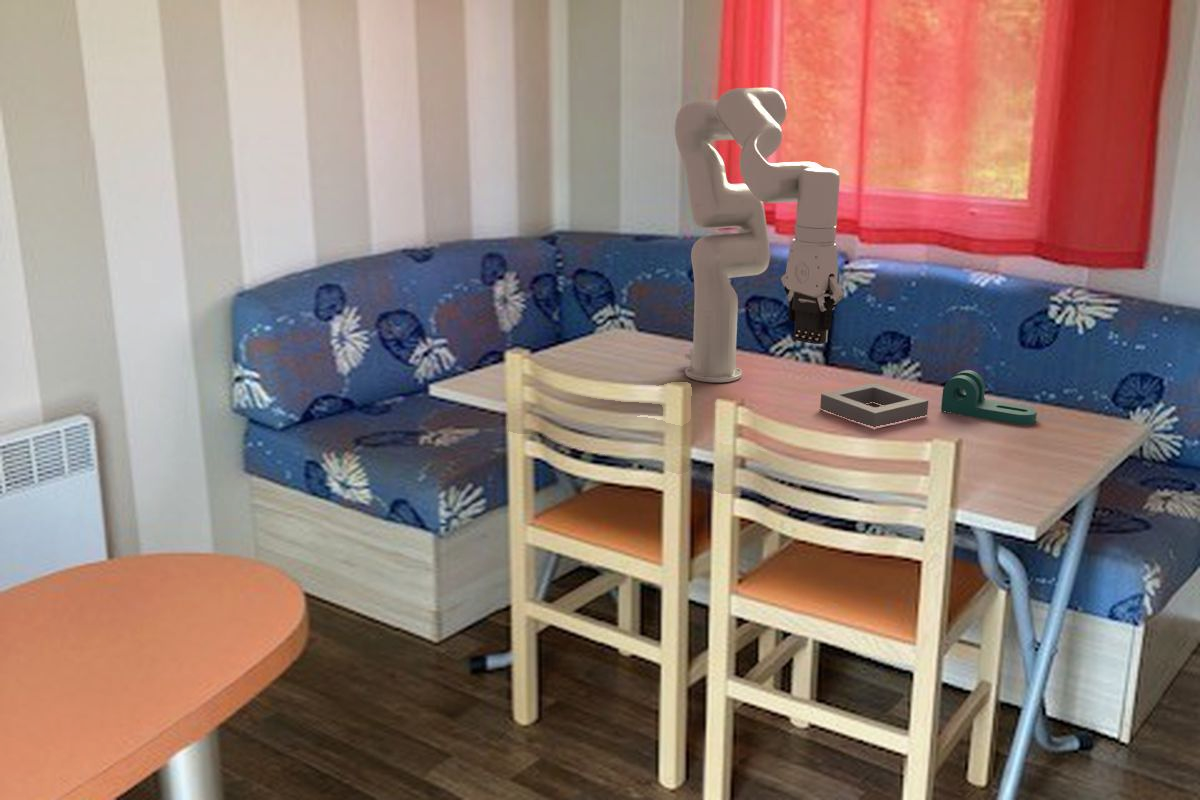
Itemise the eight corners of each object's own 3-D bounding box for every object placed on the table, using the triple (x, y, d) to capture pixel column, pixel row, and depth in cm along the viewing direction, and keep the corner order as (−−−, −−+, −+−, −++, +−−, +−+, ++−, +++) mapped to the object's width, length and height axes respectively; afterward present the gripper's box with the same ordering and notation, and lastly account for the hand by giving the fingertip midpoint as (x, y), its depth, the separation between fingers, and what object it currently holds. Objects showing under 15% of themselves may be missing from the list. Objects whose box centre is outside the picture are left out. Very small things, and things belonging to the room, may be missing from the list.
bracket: (940, 412, 251) (944, 375, 248) (950, 404, 256) (954, 367, 254) (1031, 427, 242) (1035, 389, 240) (1039, 418, 247) (1043, 381, 245)
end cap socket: (820, 410, 251) (821, 393, 250) (872, 398, 259) (873, 382, 258) (873, 430, 239) (875, 413, 238) (926, 417, 247) (928, 400, 246)
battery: (787, 341, 239) (791, 283, 235) (796, 336, 242) (800, 280, 238) (820, 347, 235) (824, 288, 231) (829, 342, 238) (833, 285, 234)
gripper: (769, 229, 236) (764, 318, 242) (833, 244, 223) (826, 338, 228) (798, 225, 240) (792, 313, 246) (863, 240, 227) (855, 333, 232)
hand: (809, 324), depth 237 cm, fingers closed on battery, 7 cm apart
